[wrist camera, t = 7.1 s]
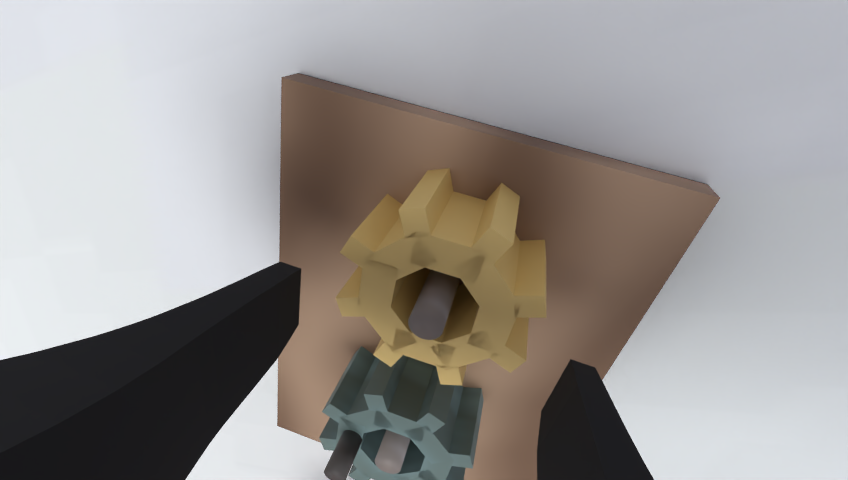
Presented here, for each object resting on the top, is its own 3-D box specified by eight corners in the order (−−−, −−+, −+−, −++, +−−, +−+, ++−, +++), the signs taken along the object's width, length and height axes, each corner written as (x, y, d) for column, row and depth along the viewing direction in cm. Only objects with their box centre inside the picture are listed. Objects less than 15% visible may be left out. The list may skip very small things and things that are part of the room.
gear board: (707, 184, 12) (812, 296, 7) (514, 496, 21) (506, 632, 17) (298, 73, 13) (166, 106, 9) (287, 410, 23) (220, 512, 18)
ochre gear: (570, 201, 12) (577, 252, 10) (511, 340, 15) (504, 406, 13) (385, 150, 13) (346, 184, 10) (365, 292, 16) (330, 346, 13)
